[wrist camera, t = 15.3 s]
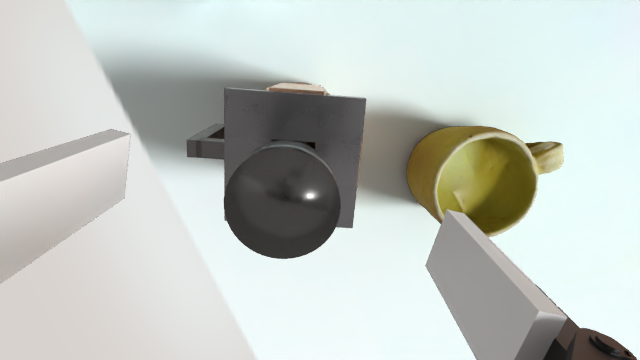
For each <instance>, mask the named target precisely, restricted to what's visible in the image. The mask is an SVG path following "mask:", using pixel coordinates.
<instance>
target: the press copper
mask: <svg viewBox="0 0 640 360" xmlns="http://www.w3.org/2000/svg"><path fill="white" fill-rule="evenodd" d="M365 106H366V98H363V97H349V96H336V95H330V94H329V93H328V92H327V91H326V90H325V89H324V88H323V87H321V85H312V84H308V83H280V84H277V85H274V86H271V87H268V88H266V89H265V90H255V89H241V88H224V124H215V125H213V126H211V127H209V128H208V129H206V130H204V131H202V132H200V133H198V134H196V135H195V136H193V137H191V138H189V139H187V157H197V158H212V159H224V161H225V190H226V187H227V184H228V182H229V179H230V178H231V176H232V174H233V173H234V172H235V170H236V169H237V168H238V166H239V165H240V164H241V163H242V161H243V160H244V159H245V158H246V156H248V155H249V154H250V153H251V152H252V151H253V150H255V149H256V148H258V147H260V146H262V145H264V144H267V143H270V142H273V139H276V140H290V141H305V142H315V150H316V151H318V152H319V153H320V154H321V155H322V156H323V157H324V158H325V159H326V160H327V161H328V163H329V164H330V166H331V168H332V170H333V172H334V174H335V177H336V181H337V185H338V190H339V194H340V202H341V209H340V216H339V220H338V223H337V225H336V227H343V228H353V218H354V209H355V200H356V190H357V188H358V178H359V169H360V160H361V150H362V141H363V137H362V134H363V125H364V115H365ZM225 221H227V219H226V216H225Z"/></svg>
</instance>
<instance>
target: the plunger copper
mask: <svg viewBox="0 0 640 360" xmlns="http://www.w3.org/2000/svg"><path fill="white" fill-rule="evenodd" d="M340 209H341V202H340V194H339V190H338V185H337V181H336V177H335V174H334V172H333V170H332V168H331V166H330V164H329V163H328V161H327V160H326V159H325V158H324V157H323V156H322V155H321V154H320V153H319V152H318V151H316V150H315V142H305V141H290V140H276V139H273V142H270V143H267V144H264V145H262V146H260V147H258V148H256V149H255V150H253V151H252V152H251V153H250V154H249V155H248V156H246V158H245V159H244V160H243V161H242V163H241V164H240V165H239V166H238V168H237V169H236V170H235V172H234V173H233V174H232V176H231V178H230V179H229V182H228V184H227V187H226V190H225V195H224V210H225V216H226V219H227V222H228V224H229V226H230V228H231V230H232V231H233V233H234V235H235V236H236V237H237V238H238V239H239V240H240V241H241V242H242V243H243V244H244V245H245V246H247V247H248V248H249V249H251V250H253V251H255V252H256V253H259V254H261V255H264V256H267V257H271V258H278V259H288V258H295V257H300V256H303V255H306V254H308V253H310V252H312V251H314V250H316V249H317V248H319V247H320V246H321V245H322V244H324V243H325V242H326V241H327V239H328V238H329V237H330V236H331V234H332V233H333V231H334V229H335V227H336V225H337V223H338V220H339V216H340Z"/></svg>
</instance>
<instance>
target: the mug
mask: <svg viewBox="0 0 640 360" xmlns="http://www.w3.org/2000/svg"><path fill="white" fill-rule="evenodd" d="M563 160H564V158H563V144H561V143H557V142H536V143H524V142H523V141H521V140H520V139H519V138H517V137H516V136H514V135H512V134H510V133H508V132H505V131H502V130H499V129H496V128H493V127H484V126H462V127H460V126H458V127H447V128H443V129H440V130H437V131H435V132H433V133H431V134H429V135H427V136H426V137H425V138H423V139H422V140H421V141H420V143H419V144H418V145H417V146H416V147H415V149H414V150H413V152H412V154H411V156H410V159H409V162H408V166H407V181H408V185H409V188H410V190H411V192H412V194H413V196H414V197H415V199H416V200H417V201H418V203H419V204H420V205H422V206H423V207H424V208H425V209H426V210H427V211H428V212H429V213H430V214H431V215H432V216H433V217H434V218H435V219H436V220H437V221H438V222H439V223H440V224H442V221H443V218H444V216H445V213H446V211H447V209H448V210H452V211H456V212H460V213H464V214H465V215H466V216H467V217H468V218H469V219H470V220H471V221H472V222H473V223H474V224H475V225H476V226H477V227H478V228H479V229H480V230H481V231H482V232H483V233H484V234H485V235H486V236H487V237H492V236H496V235H498V234H501V233H503V232H505V231H507V230H509V229H510V228H512V227H513V226H515V225H516V224H518V223H519V222H520V221H521V220H522V219H523V218H524V217H525V216H526V214H527V213H528V211H529V210H530V208H531V207H532V205H533V203H534V201H535V198H536V194H537V184H538V175H540V174H544V173H550V172H552V171H554V170H557V169H559V168H560V167H561V165H562V164H563Z"/></svg>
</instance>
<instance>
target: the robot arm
mask: <svg viewBox="0 0 640 360" xmlns="http://www.w3.org/2000/svg"><path fill="white" fill-rule="evenodd" d="M130 137H131V134H129V133H125V132H121V131H117V130H112V129H110V130H107V131H104V132H100V133H97V134H94V135H90V136H87V137H84V138H81V139H78V140H74V141H71V142H68V143H65V144H61V145H58V146H55V147H51V148H48V149H45V150H42V151H39V152H36V153H32V154H29V155H26V156H23V157H19V158H16V159H13V160H9V161H6V162H3V163H0V284H1V283H2V282H4V281H5V280H7V279H8V278H10V277H11V276H12V275H14V274H15V273H17V272H18V271H20V270H21V269H23V268H24V267H26V266H27V265H29V264H30V263H31V262H33V261H34V260H36V259H37V258H39V257H40V256H42V255H43V254H44V253H46V252H47V251H49V250H50V249H52V248H53V247H55V246H56V245H57V244H59V243H60V242H62V241H63V240H65V239H66V238H68V237H69V236H70V235H72V234H73V233H75V232H76V231H78V230H79V229H81V228H82V227H83V226H85V225H86V224H88V223H89V222H91V221H92V220H94V219H95V218H97V217H98V216H99V215H101V214H102V213H104V212H105V211H107V210H108V209H109V208H111V207H112V206H114V205H115V204H117V203H118V202H120V201H121V200H123V199H124V198H125V187H126V177H127V166H128V157H129V147H130ZM425 266H426V268H427V269H428V271H429V273H430V275H431V277H432V279H433V281H434V282H435V284H436V286H437V288H438V290H439V292H440V293H441V295H442V297H443V299H444V301H445V303H446V304H447V306H448V308H449V310H450V312H451V314H452V315H453V317H454V319H455V321H456V323H457V325H458V326H459V328H460V330H461V332H462V334H463V336H464V337H465V339H466V341H467V343H468V345H469V347H470V348H471V350H472V352H473V354H474V356H475V358H476V359H477V360H637V359H636V357H635V356H634V355H633V354H632V353H631V352H630V351H629V350H627V349H626V348H625V347H623V346H622V345H621V344H619V343H618V342H617V341H615V340H614V339H612V338H611V337H609V336H606V335H604V334H601V333H599V332H597V331H594V330H590V329H587V328H579V327H578V326H577V325H576V324H575V323H574V322H573V321H572V320H571V319H570V318H569V317H568V316H567V315H566V314H565V313H564V312H563V311H562V310H561V309H560V308H559V307H557V306H556V304H555V303H554V302H553V301H552V300H551V299H550V298H548V296H547V295H546V294H545V293H544V292H543V291H542V290H541V289H540V288H539V287H538V286H537V285H535V284H534V283H533V282H532V281H531V280H530V279H529V278H528V277H527V276H526V275H525V274H524V273H523V272H522V271H521V270H520V269H519V268H518V267H517V266H516V265H515V264H514V263H513V262H512V261H511V260H510V259H509V258H508V257H507V256H506V255H505V254H504V253H503V252H502V251H501V250H500V249H499V248H498V247H497V246H496V245H495V244H494V243H493V242H492V241H491V240H490V239H489V238H488V237H487V236H486V235H485V234H484V233H483V232H482V231H481V230H480V229H479V228H478V227H477V226H476V225H475V224H474V223H473V222H472V221H471V220H470V219H469V218H468V217H467V216H466V215H465V214H464V213H460V212H456V211H452V210H448V209H447V211H446V213H445V216H444V218H443V221H442V224H441V226H440V229H439V231H438V234H437V237H436V239H435V242H434V245H433V247H432V250H431V252H430V255H429V258H428V260H427V263H426V265H425Z"/></svg>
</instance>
